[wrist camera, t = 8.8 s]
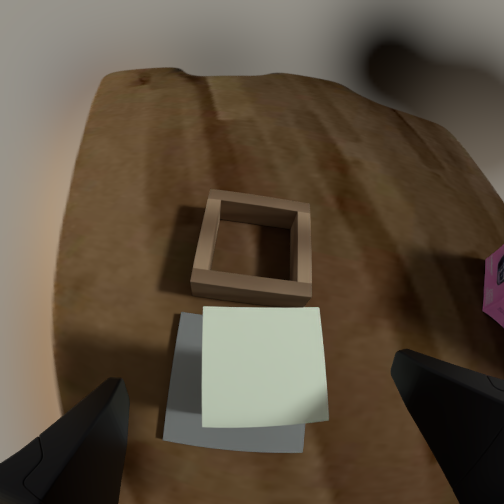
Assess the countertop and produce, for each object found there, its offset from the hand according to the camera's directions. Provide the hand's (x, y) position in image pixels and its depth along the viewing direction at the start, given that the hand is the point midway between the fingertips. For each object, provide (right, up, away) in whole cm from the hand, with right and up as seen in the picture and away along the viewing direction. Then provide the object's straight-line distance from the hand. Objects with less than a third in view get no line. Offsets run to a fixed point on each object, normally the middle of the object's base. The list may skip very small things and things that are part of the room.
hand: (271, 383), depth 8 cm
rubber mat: (-1, -5, +10) cm, 11 cm away
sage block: (-1, -5, +9) cm, 10 cm away
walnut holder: (-1, +4, +15) cm, 15 cm away
